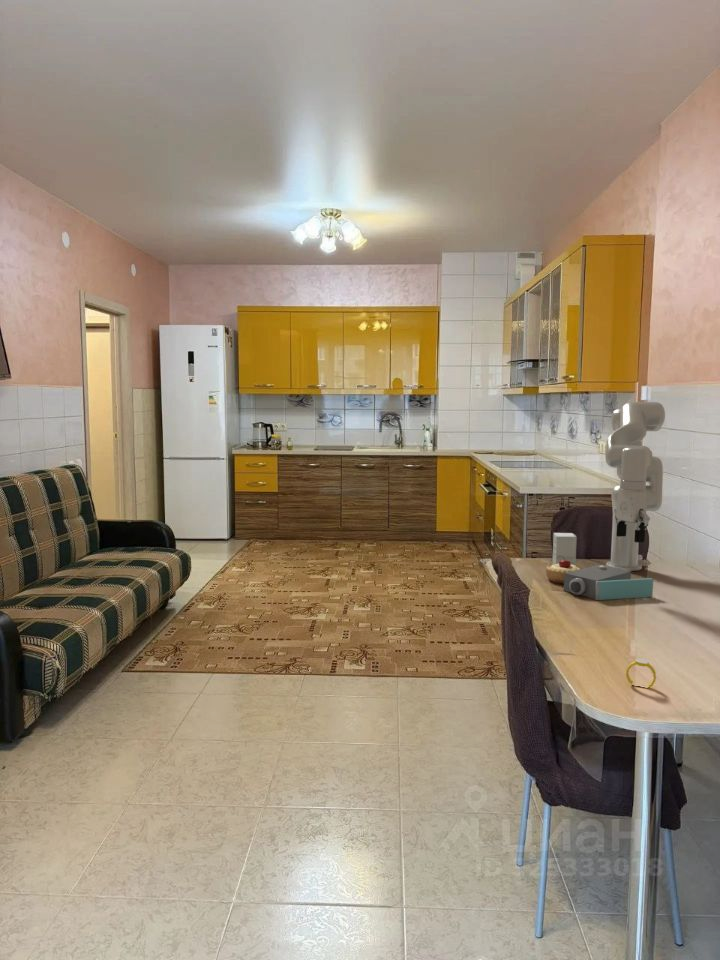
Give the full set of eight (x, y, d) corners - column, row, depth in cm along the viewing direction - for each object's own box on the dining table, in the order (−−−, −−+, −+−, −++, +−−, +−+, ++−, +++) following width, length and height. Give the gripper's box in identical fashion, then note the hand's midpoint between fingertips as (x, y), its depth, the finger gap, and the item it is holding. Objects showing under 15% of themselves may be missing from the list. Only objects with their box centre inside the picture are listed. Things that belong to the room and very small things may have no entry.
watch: (654, 687, 152) (658, 662, 151) (653, 692, 150) (657, 666, 149) (625, 680, 155) (629, 655, 154) (624, 685, 152) (627, 659, 151)
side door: (650, 595, 223) (651, 578, 222) (652, 596, 222) (653, 579, 221) (594, 599, 218) (595, 581, 218) (596, 600, 217) (597, 582, 217)
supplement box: (571, 565, 265) (573, 532, 263) (575, 569, 257) (577, 536, 256) (551, 564, 265) (553, 532, 264) (555, 569, 258) (556, 536, 257)
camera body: (598, 581, 241) (599, 562, 240) (630, 588, 232) (631, 569, 231) (559, 592, 227) (559, 571, 226) (591, 600, 218) (592, 579, 217)
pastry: (568, 588, 234) (569, 563, 232) (538, 580, 242) (539, 556, 241) (588, 581, 241) (589, 556, 240) (558, 574, 250) (559, 550, 249)
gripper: (606, 483, 227) (604, 534, 229) (638, 489, 210) (635, 545, 212) (627, 482, 229) (624, 533, 231) (660, 489, 212) (657, 544, 214)
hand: (630, 539), depth 221 cm, fingers open, 9 cm apart
